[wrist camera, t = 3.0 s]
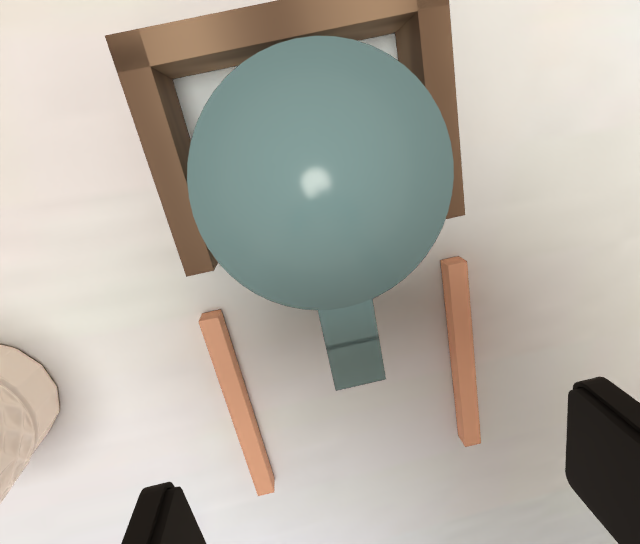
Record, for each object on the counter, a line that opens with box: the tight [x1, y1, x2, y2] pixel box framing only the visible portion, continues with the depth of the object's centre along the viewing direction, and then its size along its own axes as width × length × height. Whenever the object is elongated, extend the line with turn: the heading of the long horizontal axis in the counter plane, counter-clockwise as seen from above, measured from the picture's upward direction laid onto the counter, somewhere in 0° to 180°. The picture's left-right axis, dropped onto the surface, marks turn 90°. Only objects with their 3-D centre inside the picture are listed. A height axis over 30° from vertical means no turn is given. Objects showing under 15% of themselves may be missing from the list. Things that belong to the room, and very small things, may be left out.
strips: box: [199, 256, 481, 496], centre depth 22 cm, size 14×12×1 cm
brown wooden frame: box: [105, 0, 465, 277], centre depth 17 cm, size 12×9×3 cm
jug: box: [187, 36, 454, 391], centre depth 16 cm, size 8×12×8 cm
